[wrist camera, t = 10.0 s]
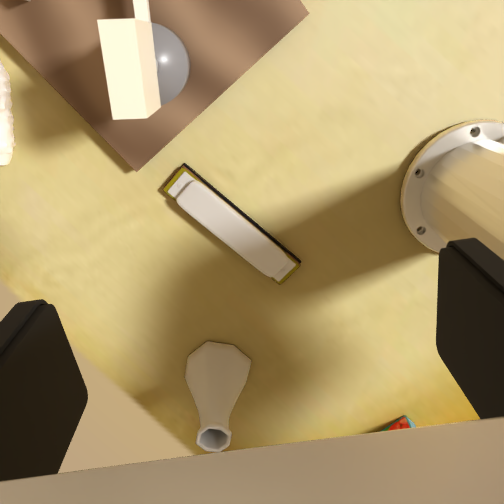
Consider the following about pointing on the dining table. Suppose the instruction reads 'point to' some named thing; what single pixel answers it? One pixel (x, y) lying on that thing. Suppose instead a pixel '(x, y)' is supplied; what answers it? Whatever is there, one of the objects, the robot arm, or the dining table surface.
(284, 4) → the board
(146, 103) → the dial knob with pointer
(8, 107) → the seated beast figurine
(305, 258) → the dining table surface
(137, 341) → the dining table surface
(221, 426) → the flask
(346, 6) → the dining table surface
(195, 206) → the harmonica
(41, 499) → the robot arm
